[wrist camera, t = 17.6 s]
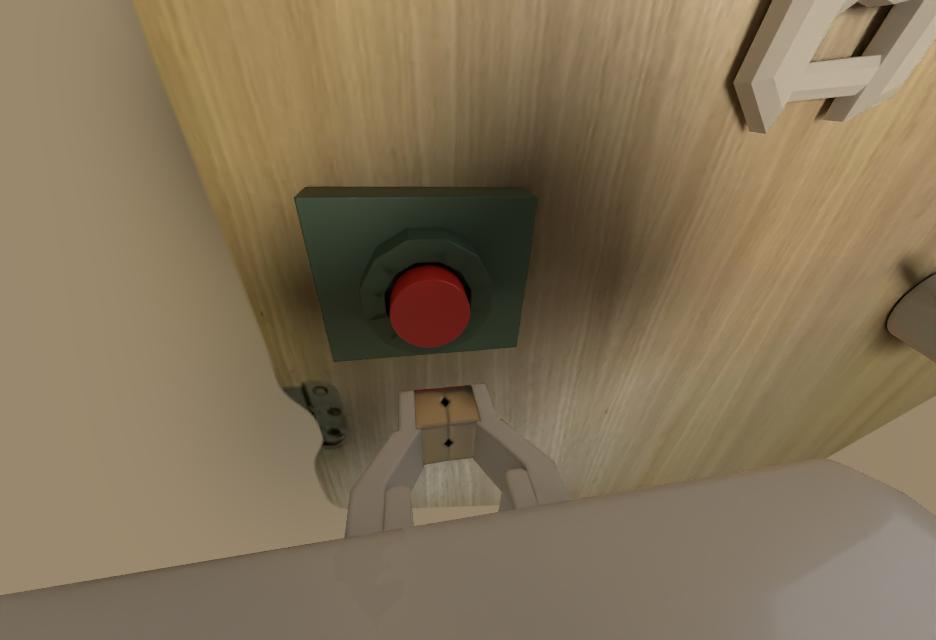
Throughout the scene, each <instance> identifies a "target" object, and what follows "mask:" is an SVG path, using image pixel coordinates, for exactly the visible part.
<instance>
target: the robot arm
mask: <svg viewBox="0 0 936 640" xmlns="http://www.w3.org/2000/svg"><path fill="white" fill-rule="evenodd" d="M414 397H415V398H414ZM468 458H474V460H475V461H476V462H477V464H478V465H479V466H480V467H481V468H482V469H483V471H484V472H485V473H486V474H487V475H488V476H489V477H490V479H491V480H492V481H493V482H494V483H495V484H496V486H497V487H498V488H499V489H500V490H501V491H502V494H501V500H500V506H499V512H496V513H490V514H485V515H479V516H473V517H467V518H461V519H455V520H449V521H443V522H437V523H431V524H426V525H419V526H414V522H413V512H412V503H411V494H410V493H411V491H412V489H413V487H414V485H415V483H416V481H417V479H418V477H419V475H420V473H421V471H422V469H423V467H424V465H425V464H431V463H437V462H443V461H449V460H458V459H468ZM0 640H936V515H934V514H933V513H931V512H930V511H929V510H927V509H926V508H925V507H923V506H922V505H921V504H919V503H918V502H917V501H915V500H914V499H912V498H911V497H909V496H908V495H906V494H905V493H903V492H901V491H899V490H897V489H895V488H893V487H891V486H889V485H887V484H885V483H883V482H881V481H879V480H877V479H875V478H872V477H870V476H868V475H866V474H864V473H862V472H860V471H858V470H855V469H853V468H851V467H849V466H846V465H844V464H841V463H839V462H836V461H834V460H830V459H813V460H807V461H801V462H795V463H789V464H783V465H777V466H771V467H765V468H759V469H753V470H747V471H741V472H735V473H729V474H723V475H717V476H711V477H705V478H699V479H693V480H688V481H682V482H676V483H670V484H664V485H658V486H652V487H646V488H640V489H634V490H628V491H622V492H616V493H610V494H604V495H598V496H592V497H586V498H580V499H574V500H571V499H570V497H569V495H568V492H567V490H566V488H565V485H564V483H563V481H562V478H561V476H560V474H559V471H558V469H557V467H556V464H555V462H554V461H552V460H551V459H550V458H549V457H547V456H546V455H545V454H544V453H543V452H541V451H540V450H539V449H538V448H536V447H535V446H534V445H533V444H531V443H530V442H529V441H528V440H527V439H525V438H524V437H523V436H522V435H520V434H519V433H518V432H517V431H516V430H514V429H513V428H512V427H511V426H509V425H508V424H507V423H506V422H504V421H503V420H502V419H497V417H496V414H495V411H494V408H493V405H492V402H491V398H490V395H489V392H488V389H487V386H486V384H485V383H482V384H473V385H464V386H455V387H446V388H438V389H425V390H414V391H403V392H399V394H398V431H396V432H393V433H392V435H391V436H390V438H389V439H388V440H387V442H386V443H385V445H384V446H383V447H382V449H381V450H380V451H379V453H378V454H377V456H376V457H375V458H374V460H373V461H372V462H371V464H370V465H369V467H368V468H367V469H366V471H365V472H364V473H363V475H362V476H361V478H360V479H359V480H358V482H357V483H356V485H355V486H354V487H353V489H352V490H351V491H350V499H349V507H348V515H347V522H346V530H345V538H342V539H335V540H329V541H324V542H317V543H312V544H305V545H300V546H294V547H288V548H282V549H276V550H270V551H264V552H258V553H252V554H246V555H240V556H234V557H228V558H222V559H216V560H210V561H204V562H198V563H192V564H186V565H180V566H174V567H168V568H162V569H156V570H150V571H144V572H138V573H132V574H126V575H120V576H114V577H108V578H102V579H96V580H90V581H84V582H78V583H72V584H66V585H60V586H54V587H48V588H42V589H36V590H30V591H24V592H18V593H12V594H6V595H0Z"/></svg>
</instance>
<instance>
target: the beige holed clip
mask: <svg viewBox="0 0 936 640" xmlns="http://www.w3.org/2000/svg"><path fill="white" fill-rule="evenodd" d="M856 2H858V3H860V4H862V5H864V6H866V7H868V8H870V7H877V6H884V5H891V4H894V5H893V7H892V8H891V10H890V11H889V13H888V15H887V16H886V18H885V19H884V21H883V22H882V24H881V26H880V27H879V29H878V30H877V32H876V33H875V35H874V37H873V38H872V40H871V41H870V43H869V45H868V46H867V48H866V49H865V51H864V52H863V54H862V56H859V57H850V58H841V59H832V60H823V61H814V62H810V61H811V59H812V57H813V55H814V54H815V52H816V50H817V48H818V47H819V45H820V43H821V41H822V40H823V38H824V36H825V34H826V33H827V31H828V29H829V27H830V26H831V24H832V22H833V20H834V19H835V17H837V16H838V15H839V14H841V13H842V12H844V11H845V10H846V9H848V8H849V7H851V6H852V5H853V4H855V3H856ZM935 39H936V0H773V1H772V3H771V5H770V7H769V9H768V11H767V13H766V15H765V17H764V19H763V22H762V24H761V26H760V28H759V30H758V32H757V34H756V36H755V38H754V40H753V43H752V45H751V47H750V49H749V51H748V53H747V55H746V57H745V59H744V61H743V63H742V66H741V68H740V70H739V72H738V74H737V76H736V78H735V80H734V82H733V84H734V87H735V90H736V93H737V96H738V99H739V102H740V105H741V108H742V110H743V113H744V116H745V119H746V122H747V125H748V128H749V131H751V132H757V133H763V134H767V132H768V131H769V129H770V128H771V126H772V125H773V123H774V122H775V120H776V119H777V117H778V116H779V114H780V113H781V111H782V110H783V108H784V106H785V105H786V103H787V102H793V101H803V100H813V99H823V98H832V97H835V99H834V100H833V102H832V104H831V106H830V108H829V109H828V111H827V113H826V115H825V116H824V118H823V120H831V121H840V122H843V121H845V120H847V119H849V118H851V117H853V116H855V115H857V114H859V113H861V112H863V111H865V110H867V109H869V108H872V107H874V106H876V105H878V104H880V103H882V102H884V101H886V100H888V99H890V98H891V97H892V96H893V95H894V94H895V92H896V91H897V90H898V89H899V88H900V87H901V86H902V84H903V83H904V82H905V81H906V79H907V78H908V77H909V75H910V74H911V73H912V71H913V70H914V68H915V67H916V66H917V64H918V63H919V61H920V60H921V59H922V57H923V56H924V54H925V53H926V52H927V50H928V49H929V48H930V46H931V45H932V43H933V42H934V41H935Z"/></svg>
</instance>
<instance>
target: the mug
mask: <svg viewBox="0 0 936 640" xmlns="http://www.w3.org/2000/svg"><path fill="white" fill-rule="evenodd" d="M887 328H888V331H889V332H890V333H891V334H892V335H894V336H895V337H897V338H898V339H900V340H901V341H903V342H905V343H906V344H908V345H909V346H911V347H912V348H914V349H915V350H917V351H919V352H920V353H922V354H923V355H925V356H926V357H928V358H929V359H931V360H933V361H934V362H936V274H935V275H933V276H931V277H929V278H928V279H926V280H925V281H923V282H922V283H920V284H919V285H917V286H916V287H915V288H914V289H912V290H911V291H910V292H909V293H908V294H907V295H905V296H904V298H903V299H902V300H901V301H900V302H899V303H898V304H897V305H896V306H895V308H894V310H893V311H892V313H891V314H890V316H889V319H888V322H887Z"/></svg>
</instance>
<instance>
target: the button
mask: <svg viewBox="0 0 936 640" xmlns="http://www.w3.org/2000/svg"><path fill="white" fill-rule="evenodd" d="M469 318H470V305H469V302H468V299H467V296H466V293H465V290H464V287H463V285H462V283H461V281H460V280H459V278H458V277H457V276H456V275H455V274H453V273H452V272H451V271H449V270H447V269H445V268H443V267H439V266H434V265H424V266H418V267H415V268H412V269H410V270H408V271H407V272H405V273H404V274H403V275H401V276H400V277H399V278H398V280H397V281H396V282H395V284H394V286H393V288H392V291H391V297H390V321H391V324H392V327H393V329H394V331H395V332H396V333H397V335H398V336H399V337H400V338H402V339H403V340H404V341H406V342H408V343H410V344H412V345H415V346H419V347H438V346H442V345H445V344H447V343H449V342H451V341H453V340H454V339H456V338H457V337H458V336H459V335H460V334H461V333H462V332H463V331H464V329H465V328H466V326H467V324H468V322H469Z"/></svg>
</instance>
